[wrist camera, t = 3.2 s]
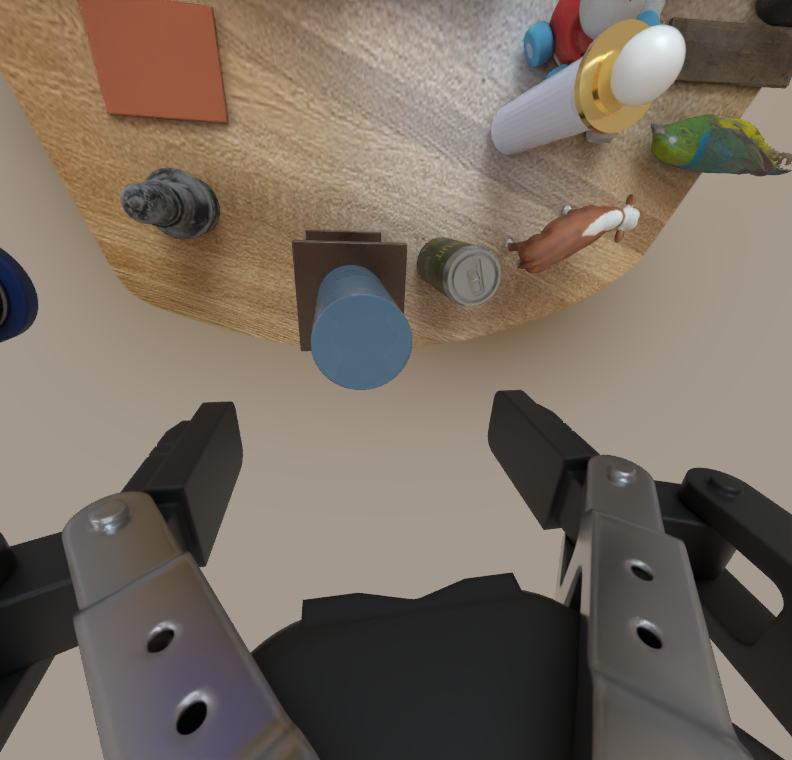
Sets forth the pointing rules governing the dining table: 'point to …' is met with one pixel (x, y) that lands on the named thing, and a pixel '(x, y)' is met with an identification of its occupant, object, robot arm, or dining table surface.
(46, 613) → the robot arm
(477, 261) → the beer can
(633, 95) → the perfume bottle
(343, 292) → the blue cylinder
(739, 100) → the dining table surface
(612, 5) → the toy car
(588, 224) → the bull figurine
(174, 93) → the tile
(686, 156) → the bird model
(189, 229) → the chess piece
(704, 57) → the wooden plank
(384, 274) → the stand
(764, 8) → the stone
